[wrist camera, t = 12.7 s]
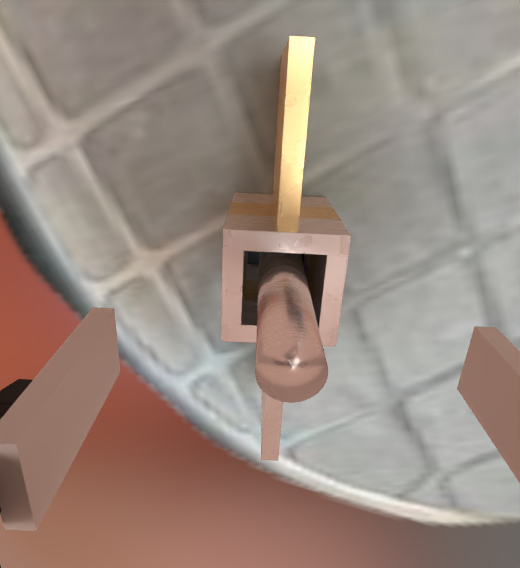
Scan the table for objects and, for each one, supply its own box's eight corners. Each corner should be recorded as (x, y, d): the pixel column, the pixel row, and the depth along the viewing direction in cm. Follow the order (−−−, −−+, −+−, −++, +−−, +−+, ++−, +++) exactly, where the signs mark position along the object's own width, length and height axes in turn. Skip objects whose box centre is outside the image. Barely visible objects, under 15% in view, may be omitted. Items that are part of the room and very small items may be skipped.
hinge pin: (260, 219, 29) (257, 339, 14) (297, 221, 29) (331, 343, 14) (258, 254, 30) (253, 400, 15) (294, 256, 30) (324, 404, 15)
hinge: (238, 55, 25) (226, 32, 17) (340, 61, 25) (377, 40, 17) (230, 370, 34) (219, 458, 25) (306, 374, 34) (319, 462, 26)
